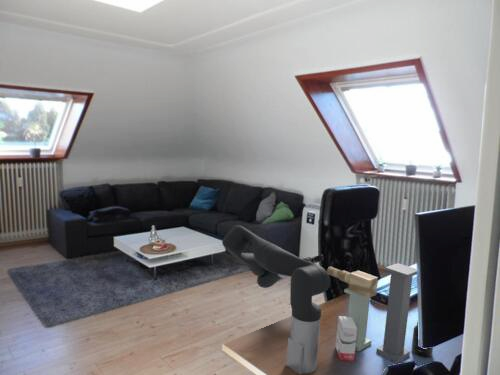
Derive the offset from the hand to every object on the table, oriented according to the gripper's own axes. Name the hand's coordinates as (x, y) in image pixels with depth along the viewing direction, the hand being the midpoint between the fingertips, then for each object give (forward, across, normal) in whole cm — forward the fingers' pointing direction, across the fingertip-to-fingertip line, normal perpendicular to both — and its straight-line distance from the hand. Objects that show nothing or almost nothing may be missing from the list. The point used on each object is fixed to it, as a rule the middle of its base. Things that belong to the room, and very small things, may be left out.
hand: (315, 259), depth 154 cm
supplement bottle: (+21, +14, +42) cm, 49 cm away
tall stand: (+16, +5, +39) cm, 42 cm away
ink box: (+7, -9, +34) cm, 36 cm away
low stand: (+6, 0, +33) cm, 33 cm away
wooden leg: (+12, 0, +13) cm, 17 cm away
